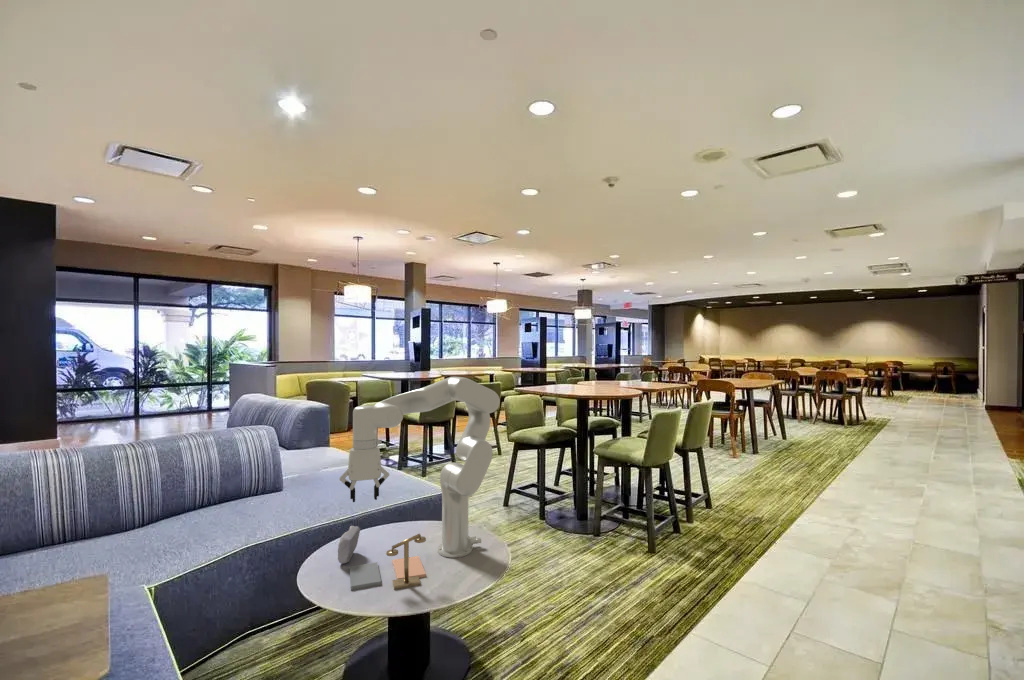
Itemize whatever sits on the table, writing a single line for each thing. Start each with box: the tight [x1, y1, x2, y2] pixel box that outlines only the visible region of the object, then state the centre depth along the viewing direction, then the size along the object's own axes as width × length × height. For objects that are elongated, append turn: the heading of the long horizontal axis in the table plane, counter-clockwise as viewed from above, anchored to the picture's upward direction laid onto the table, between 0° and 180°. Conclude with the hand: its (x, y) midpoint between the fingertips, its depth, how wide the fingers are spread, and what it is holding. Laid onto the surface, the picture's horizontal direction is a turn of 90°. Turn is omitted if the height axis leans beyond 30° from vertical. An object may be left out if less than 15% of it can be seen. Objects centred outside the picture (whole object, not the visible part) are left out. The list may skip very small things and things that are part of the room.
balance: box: [385, 533, 427, 591], centre depth 150 cm, size 12×4×16 cm, turn 110°
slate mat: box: [349, 561, 382, 591], centre depth 155 cm, size 9×14×1 cm, turn 20°
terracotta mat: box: [392, 555, 427, 580], centre depth 160 cm, size 9×14×1 cm, turn 20°
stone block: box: [337, 525, 361, 565], centre depth 168 cm, size 12×5×10 cm, turn 0°
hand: (364, 499), depth 155 cm, fingers open, 6 cm apart
